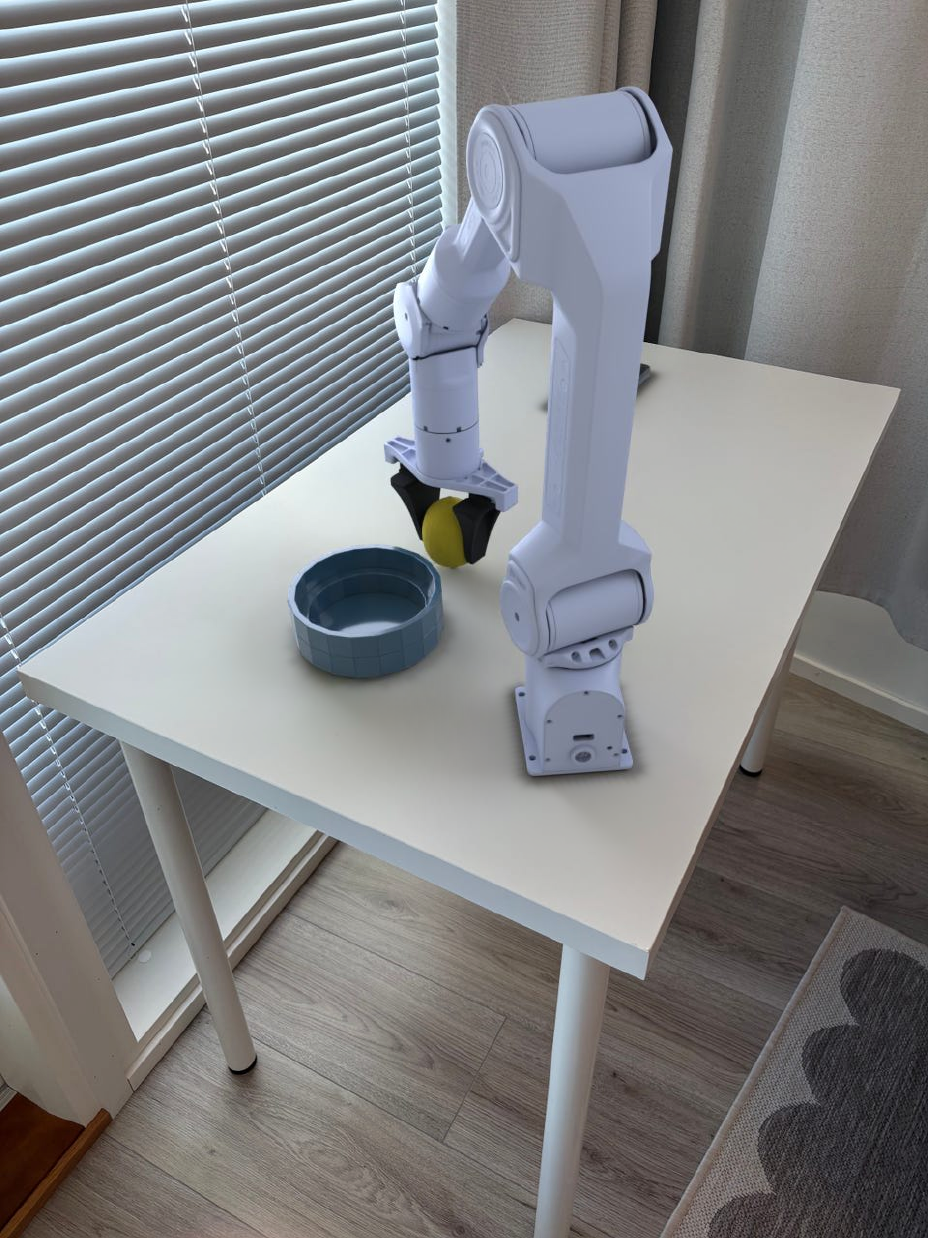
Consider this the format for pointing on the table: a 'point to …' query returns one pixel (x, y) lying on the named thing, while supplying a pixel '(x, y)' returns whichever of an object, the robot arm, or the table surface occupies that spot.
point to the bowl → (366, 610)
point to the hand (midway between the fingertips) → (452, 547)
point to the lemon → (443, 534)
